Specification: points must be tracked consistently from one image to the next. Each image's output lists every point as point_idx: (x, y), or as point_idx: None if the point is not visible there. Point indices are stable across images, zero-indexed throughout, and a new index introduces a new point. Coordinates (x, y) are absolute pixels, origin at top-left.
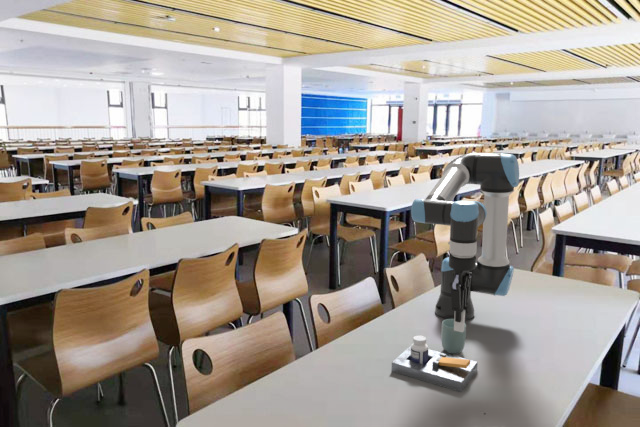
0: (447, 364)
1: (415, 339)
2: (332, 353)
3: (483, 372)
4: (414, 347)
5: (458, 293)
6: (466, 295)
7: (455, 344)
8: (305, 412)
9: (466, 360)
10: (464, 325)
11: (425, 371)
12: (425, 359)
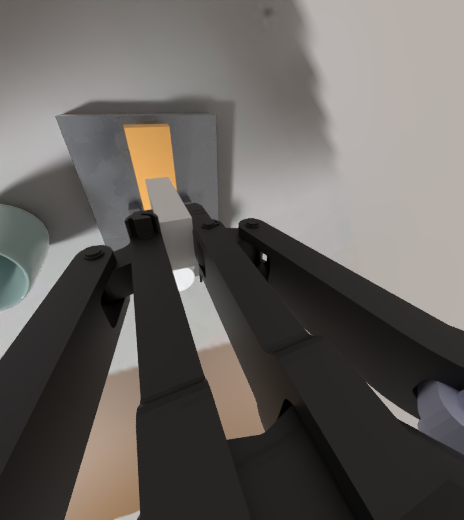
0: (175, 181)
1: (192, 280)
2: (216, 334)
3: (51, 88)
4: (193, 267)
5: (408, 308)
6: (141, 301)
7: (28, 223)
8: (343, 263)
9: (134, 137)
10: (147, 187)
11: (215, 210)
12: None
